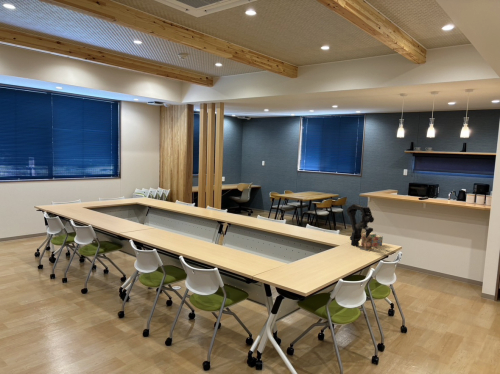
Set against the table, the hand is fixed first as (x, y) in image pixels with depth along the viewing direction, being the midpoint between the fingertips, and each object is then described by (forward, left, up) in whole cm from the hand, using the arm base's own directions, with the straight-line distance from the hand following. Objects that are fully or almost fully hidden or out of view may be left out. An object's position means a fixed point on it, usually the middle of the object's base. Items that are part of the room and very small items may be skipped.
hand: (362, 236), depth 328 cm
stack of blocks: (0, +27, -13) cm, 30 cm away
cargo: (+3, +5, -10) cm, 12 cm away
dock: (+3, +5, -13) cm, 14 cm away
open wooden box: (+3, +5, -11) cm, 13 cm away
